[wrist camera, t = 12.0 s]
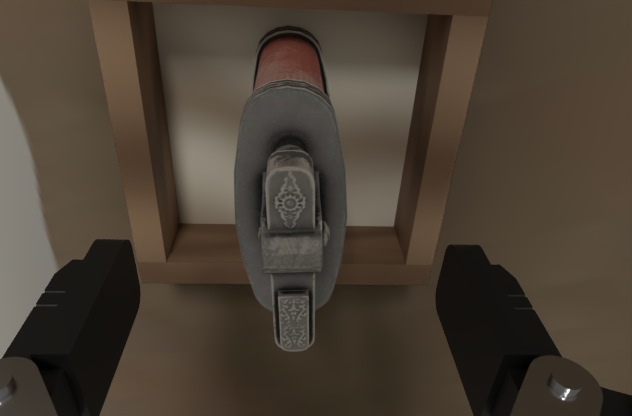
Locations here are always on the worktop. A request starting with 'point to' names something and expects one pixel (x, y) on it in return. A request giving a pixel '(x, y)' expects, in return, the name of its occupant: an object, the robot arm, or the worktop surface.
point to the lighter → (290, 185)
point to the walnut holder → (228, 102)
